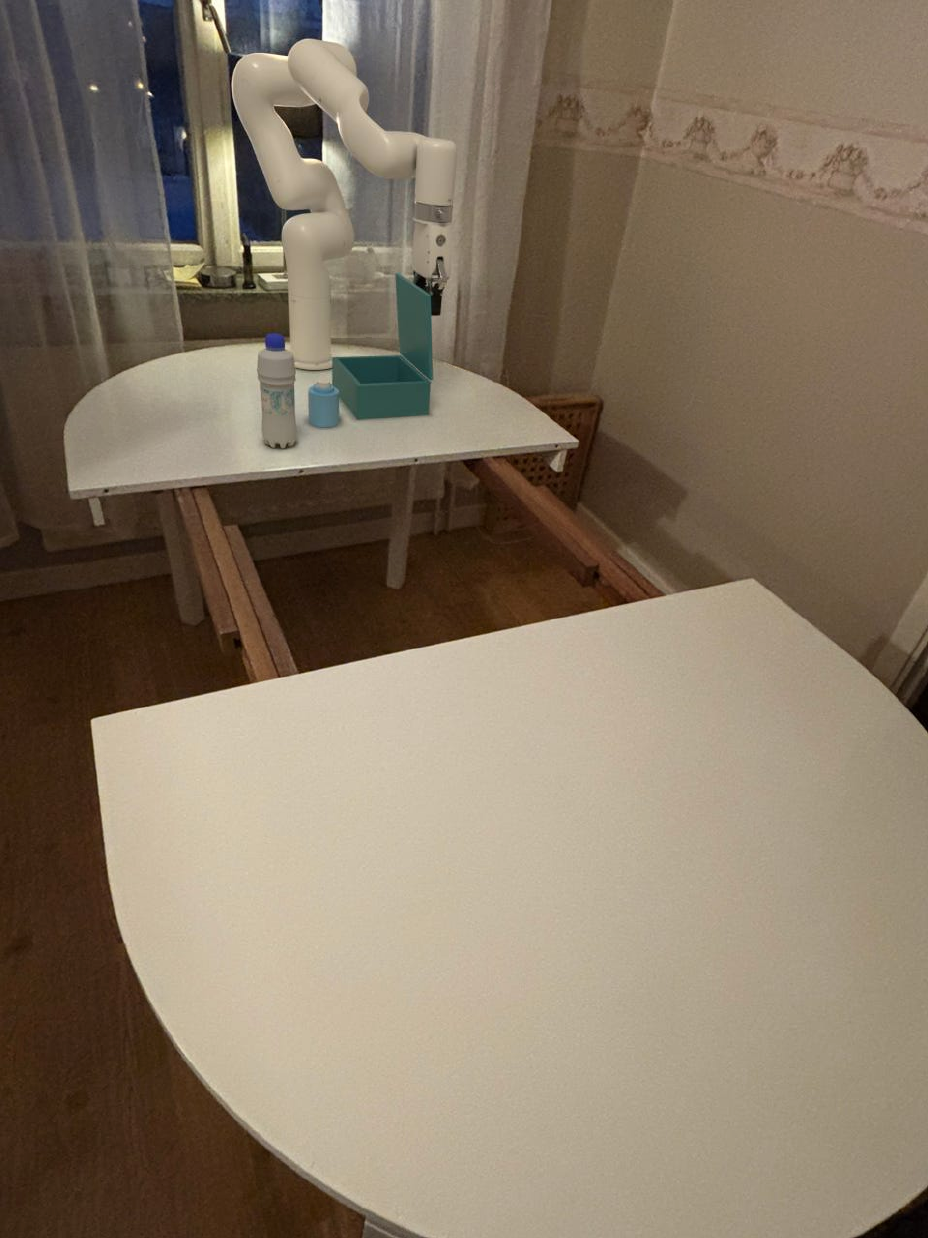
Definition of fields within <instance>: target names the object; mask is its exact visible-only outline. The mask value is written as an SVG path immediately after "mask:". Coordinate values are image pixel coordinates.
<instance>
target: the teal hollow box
mask: <svg viewBox="0 0 928 1238" xmlns="http://www.w3.org/2000/svg"><path fill="white" fill-rule="evenodd" d="M331 369H332V370H331V374H332V375H331V384H332V385H333V386H334V387H336V388H337V389H338V390H339V400H341V401H342V402H343V404H344V405H345V406H346V408H347V409H348V410H349V411H350V412H351V414H352V415H353V416H354V418H356V420H366V419H367V420H368V419H369V420H370V419H384V418H399V417H414V416H428V415H430V402H431V392H432V391H431V389H432V382H431V380H429V379H428V378H427V377H425V376H424V375H423V374H422V373H421V372H420V371H419V370H418V369H417V368H416V367H414V366H413V365H412V364H411V363H410V362H409V361H408V360H407V359H406V358H405V357H404V356H402V355H401V354H385V355H383V354H382V355H357V356H356V355H353V356H336V357H332V368H331Z"/></svg>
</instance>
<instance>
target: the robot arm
mask: <svg viewBox="0 0 928 1238" xmlns="http://www.w3.org/2000/svg"><path fill="white" fill-rule="evenodd" d="M357 71H358V69H357V63H356V60H355V59H354V57H353V55H352V53H351V52H350V50H349V49H348V48H346V47H345V46H344V45H342V44H340V43H338V42H333V41H327V40H322V39H321V40H320V39H315V38H304V39H301V40H299V41H296V43H294V45H292V46H291V48H290V50H289V52H288V55H287V56H286V55H281V54H273V53H264V52H256V53H254V52H253V53H250V54H246V55H244V56H243V57H241V58H240V59H239V60H238V61H237V63H236V64H235V67H234V69H233V72H232V77H231V93H232V100H233V105H234V107H235V110H236V113H237V116H238V118H239V121H240V122H241V125H242V127H243V129H244V130H245V132H246V134H247V136H248V138H249V140H250V143H251V145H252V148H253V150H254V153H255V155H256V156H255V157H256V159H257V161H258V164H259V167H260V169H261V172H262V175H263V177H264V179H265V182H266V185H267V187H268V190H269V193H270V195H271V198H272V199H273V201H274V203H275V205H277V207H279V208H280V209H283V210H287V211H299V210H301V211H302V210H309V211H310V212H308V213H300V214H296V215H293V216H292V217H290V218H288V219H287V220H286V222H285V223H284V225H283V227H282V229H281V244H282V245H281V246H282V250H283V254H284V259H285V264H286V277H287V292H288V295H287V296H288V323H289V351H290V352H291V353H292V354H293V358H294V365H295V369H300V370H308V371H323V370H327V369H332V357H337V356H336V355H335V354H334V353H332V333H331V332H332V303H331V302H332V294H331V293H332V291H331V290H332V289H331V286H332V285H331V280H330V276H329V273H328V271H327V268H326V266H325V262H326V261H332V260H337V259H341V258H344V257H347V256H348V255H349V254H350V253H351V252H352V250H353V248H354V244H355V231H354V227H353V223H352V220H351V218H350V215H349V211H348V209H347V206H346V203H345V200H344V197H343V194H342V192H341V189H340V186H339V183H338V181H337V178H336V176H335V174H334V173H333V171H332V170H331V168H330V167H329V166H328V165H327V164H326V163H325V162H323V161H321V160H320V159H316V158H303V157H302V156H301V155H300V153H299V151H298V148H297V146H296V144H295V140H294V137H293V135H292V133H291V131H290V129H289V128H288V126H287V124H286V122H285V121H284V120H283V119H282V118H281V116H280V115H279V114H278V113H277V111H276V110H275V107H290V108H291V107H292V108H304V107H310V106H313V105H317V106H318V107H319V108H320V109H321V110H322V111H323V112H325V113H326V114H327V116H329V117H330V118H331V119H332V121H334V122H335V123H336V124H337V127H338V132H339V135H340V138H341V141H342V144H344V146H345V148H346V150H347V151H348V152H349V153H350V155H352V157H353V158H355V159H356V160H357V162H359V164H361V165H362V166H363V167H364V168H365V169H366V170H367V171H368V172H370V173H371V174H372V175H374V176H376V177H378V178H381V179H386V180H387V179H388V180H389V179H414V178H415V180H414V184H415V185H414V200H413V216H412V221H413V222H414V227H413V236H412V237H413V238H412V248H411V268H412V270H413V272H412V275H413V282H412V283H414V284H415V285H417V286H418V287H419V288H421V289H422V287H424V286H426V287H428V293H429V295H431V317H439V316H441V315H442V314H441V313H442V301H443V295H444V289H445V287H446V285H447V283H448V280H450V278H451V271H452V228H451V225H452V222H453V220H452V219H453V207H454V206H453V205H454V197H455V196H454V195H455V185H456V183H455V182H456V172H457V171H456V170H457V159H458V147H457V144H456V143H455V142H454V141H452V140H449V139H444V138H438V137H428V136H426V135H423V134H421V133H417V132H414V131H401V130H399V131H398V130H397V131H396V130H385V129H383V128H382V127H381V126H380V125H379V124H377V123H376V122H375V120H373V119H372V118H371V117H370V116H369V114H367V111H368V108H369V105H370V91H369V89H368V87H367V86H366V84H365V83H364V82H363V81H362V80H361V79H359V78H358V72H357ZM435 276H437V277H435ZM433 283H434V284H433Z"/></svg>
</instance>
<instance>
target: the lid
mask: <svg viewBox="0 0 928 1238" xmlns="http://www.w3.org/2000/svg"><path fill="white" fill-rule="evenodd" d="M394 276H395V295H396V312H397V330H398V347H399V349H398V350H399V355H402V356H403V357H404V358H405V359H406V360H407V361H408V362H409V363H410V364H411V365H413V366H414V367H415V368H416V369H417V370H418V371H419V372H420V373H421V374H422V375H423V376H425V377H426V378H427V379H428V380H429V381H434V363H433V362H434V361H433V360H434V359H433V326H432V325H433V322H432V319H433V318H432V316H431V295H429V293H428V287H426V286H424V287H422V289H421V288H419V287H418V286H417V285H415V284H414V283H413V282H412V281H411V280H409V279H408V278H406V276H404V275H402V274H401V273H399V272H395V274H394Z"/></svg>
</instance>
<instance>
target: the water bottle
mask: <svg viewBox="0 0 928 1238" xmlns="http://www.w3.org/2000/svg"><path fill="white" fill-rule="evenodd" d="M307 396H308V399H307V401H308V404H307V405H308V423H309V424H310V425H312V426H314V427H317V428H333V427H335V426H338V425H339V423H340V397H339V390H338V389H337V388H336V387H334V386H333V385H332V383H331V380H329V379H327V378H318V379H317V380H316V383H313V385H311V386H309V387H308V389H307Z"/></svg>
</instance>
